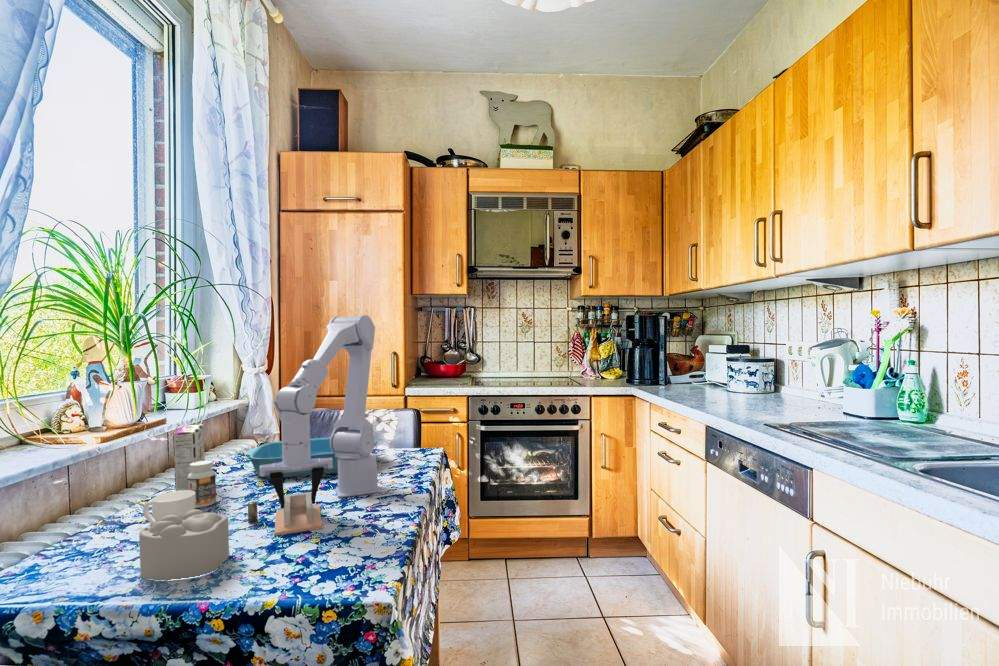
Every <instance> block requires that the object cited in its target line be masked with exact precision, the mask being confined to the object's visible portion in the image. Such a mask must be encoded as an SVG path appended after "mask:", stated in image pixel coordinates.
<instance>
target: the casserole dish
mask: <svg viewBox="0 0 999 666" xmlns="http://www.w3.org/2000/svg"><path fill="white" fill-rule="evenodd" d="M330 437H331V436H329V437H320V438H319V437H315V438H310V445H311V459H315V458H332V463H333V468H330V469H328V468H324V474H323V475H328V474H329V475H330V474H331V473H332V474H338V457H335V453H333V452H332V450H331V448H330ZM377 444H378V440H377V439H376V438H374V446H375V445H377ZM244 455H245V456H246V457H248V458H250V459H249V460H250V462H251V463H252V466H253V469H254V471H255V473H256V474H257V475H258V476H259V477H260V465H267V464H273V463H278V462H282V440H278V441H272V442H266V443H263V444H261V445H259V446H257V447H253V448H250V449H249V450H247V451H246V452H245V453H244ZM304 475H309V476H311V470H306V471H297V472H289V473H283V477H284V478H293V477H292V476H297V477H305V476H304ZM264 477H265V478H266V479H270V475H266V476H262V477H261V478H264ZM265 478H264V479H265Z"/></svg>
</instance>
